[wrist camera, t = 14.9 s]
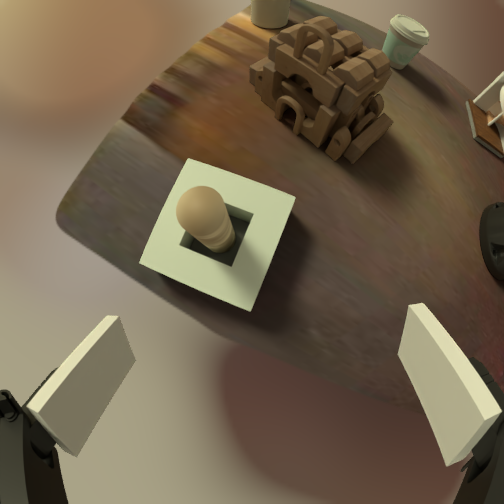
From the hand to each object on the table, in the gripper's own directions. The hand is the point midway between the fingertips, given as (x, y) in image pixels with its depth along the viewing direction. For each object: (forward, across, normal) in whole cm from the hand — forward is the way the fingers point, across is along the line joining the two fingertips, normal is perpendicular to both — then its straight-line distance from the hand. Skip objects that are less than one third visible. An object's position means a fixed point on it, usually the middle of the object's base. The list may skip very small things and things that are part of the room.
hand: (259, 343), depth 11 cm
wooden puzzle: (+36, +8, +16) cm, 41 cm away
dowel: (+24, -7, -2) cm, 25 cm away
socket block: (+24, -7, -2) cm, 25 cm away
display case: (+43, +52, +16) cm, 69 cm away
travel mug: (+47, +3, +41) cm, 62 cm away
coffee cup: (+46, +29, +30) cm, 62 cm away
